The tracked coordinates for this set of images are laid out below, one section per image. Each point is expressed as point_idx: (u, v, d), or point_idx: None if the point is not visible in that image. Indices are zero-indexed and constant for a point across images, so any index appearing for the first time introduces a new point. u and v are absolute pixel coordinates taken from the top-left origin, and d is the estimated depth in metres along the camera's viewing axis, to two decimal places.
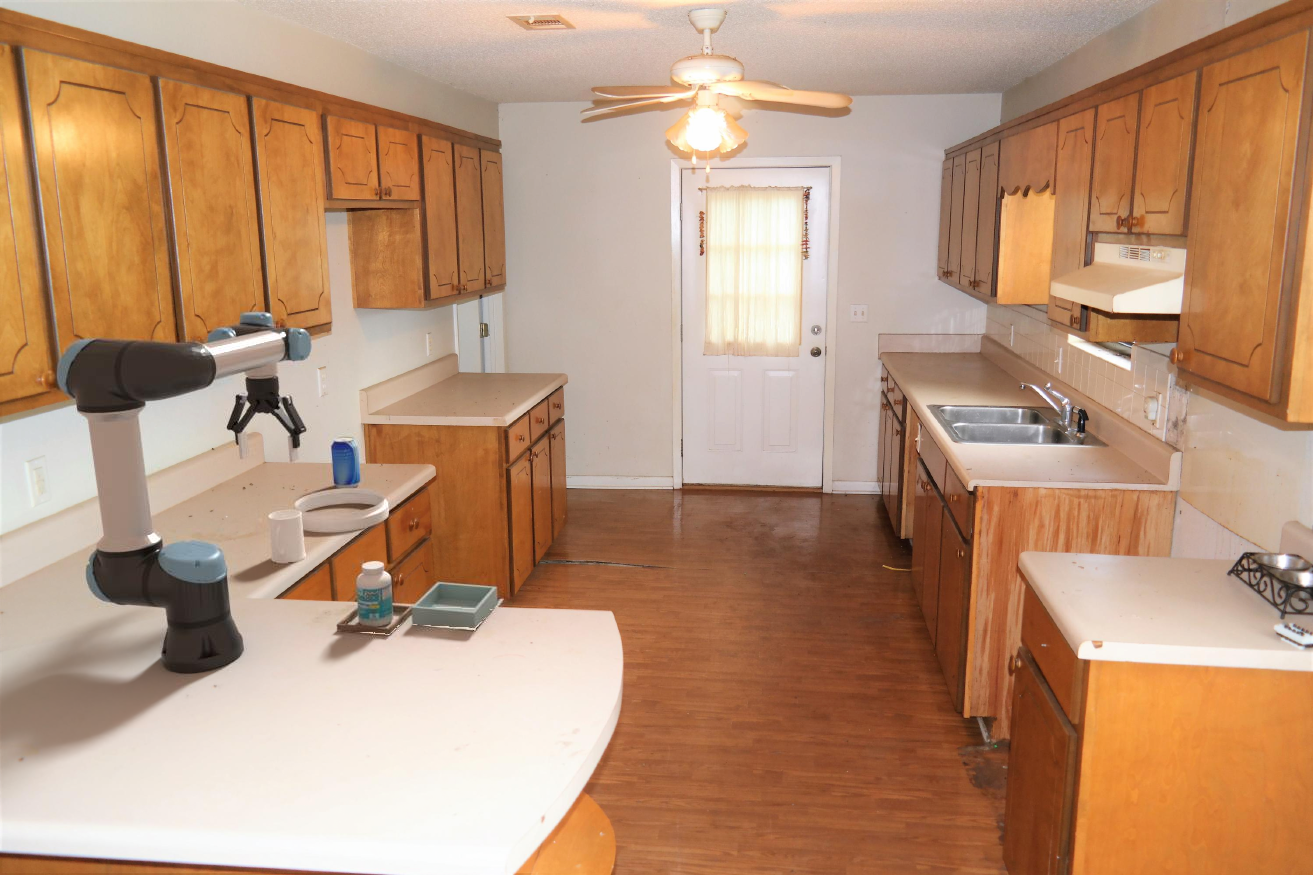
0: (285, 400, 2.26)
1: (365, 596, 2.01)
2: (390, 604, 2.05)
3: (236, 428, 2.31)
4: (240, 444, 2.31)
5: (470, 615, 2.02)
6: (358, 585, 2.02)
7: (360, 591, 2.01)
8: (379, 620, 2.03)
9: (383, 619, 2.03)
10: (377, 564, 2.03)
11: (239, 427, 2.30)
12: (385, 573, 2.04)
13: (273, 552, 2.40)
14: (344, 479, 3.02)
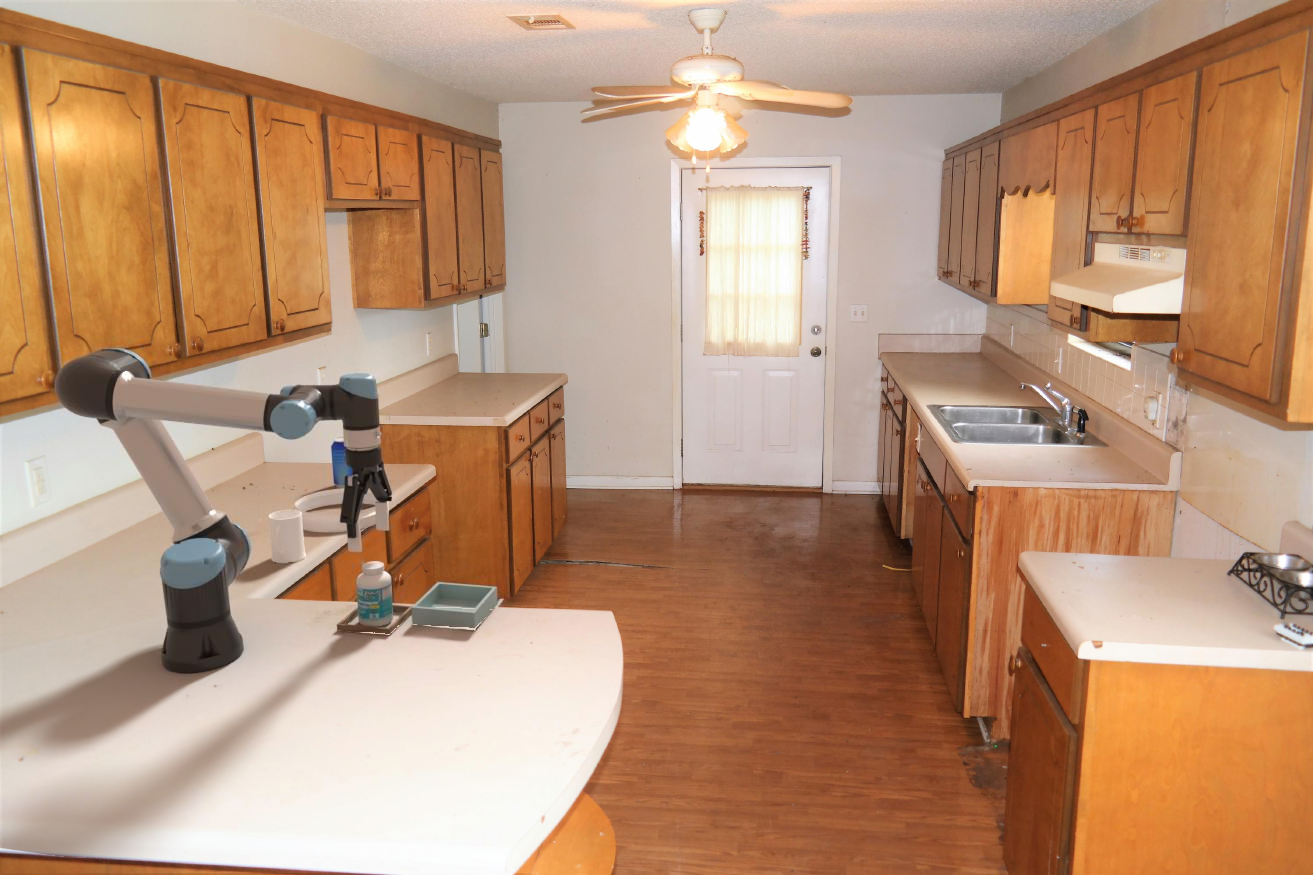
0: None
1: (365, 596, 2.01)
2: (390, 604, 2.05)
3: None
4: None
5: (470, 615, 2.02)
6: (358, 585, 2.02)
7: (360, 591, 2.01)
8: (379, 620, 2.03)
9: (383, 619, 2.03)
10: (377, 564, 2.03)
11: None
12: (385, 573, 2.04)
13: (273, 552, 2.40)
14: (344, 479, 3.02)
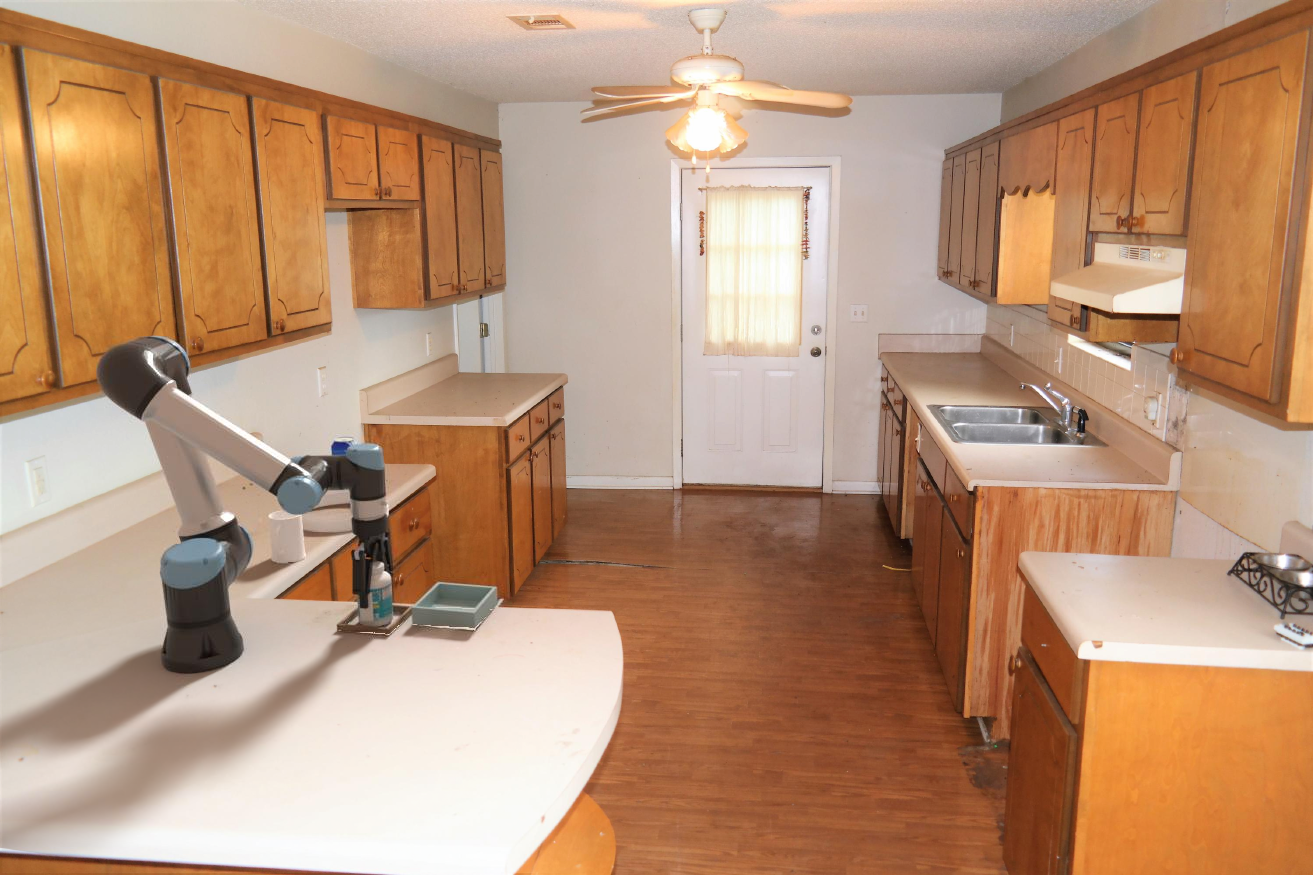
0: None
1: None
2: (390, 604, 2.05)
3: None
4: None
5: (470, 615, 2.02)
6: None
7: None
8: (379, 620, 2.03)
9: (383, 619, 2.03)
10: (377, 564, 2.03)
11: None
12: (385, 573, 2.04)
13: (273, 552, 2.40)
14: None
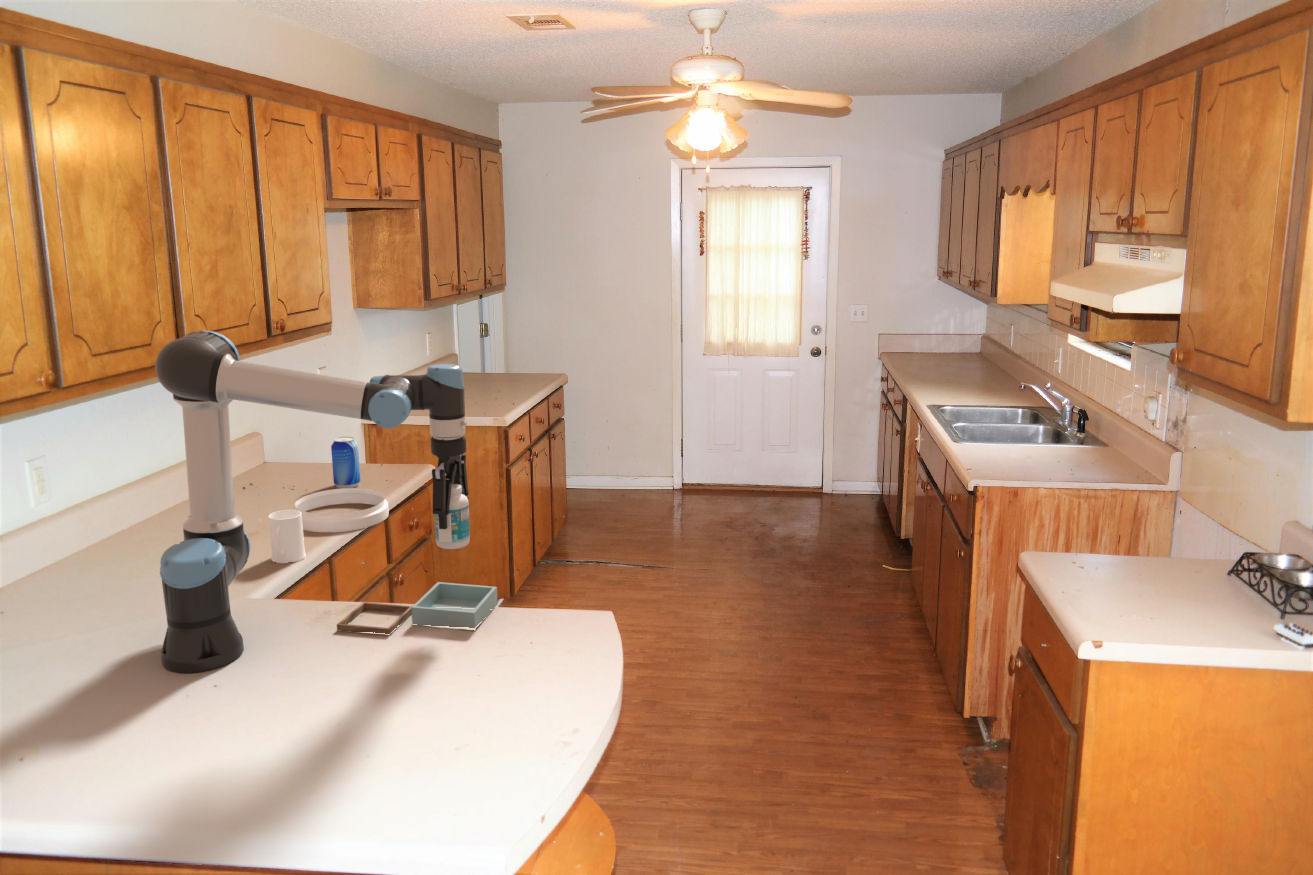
0: None
1: None
2: (467, 526, 2.05)
3: None
4: None
5: (470, 615, 2.02)
6: None
7: None
8: (457, 542, 2.03)
9: (461, 541, 2.03)
10: (455, 486, 2.03)
11: None
12: (463, 495, 2.04)
13: (273, 552, 2.40)
14: (344, 479, 3.02)
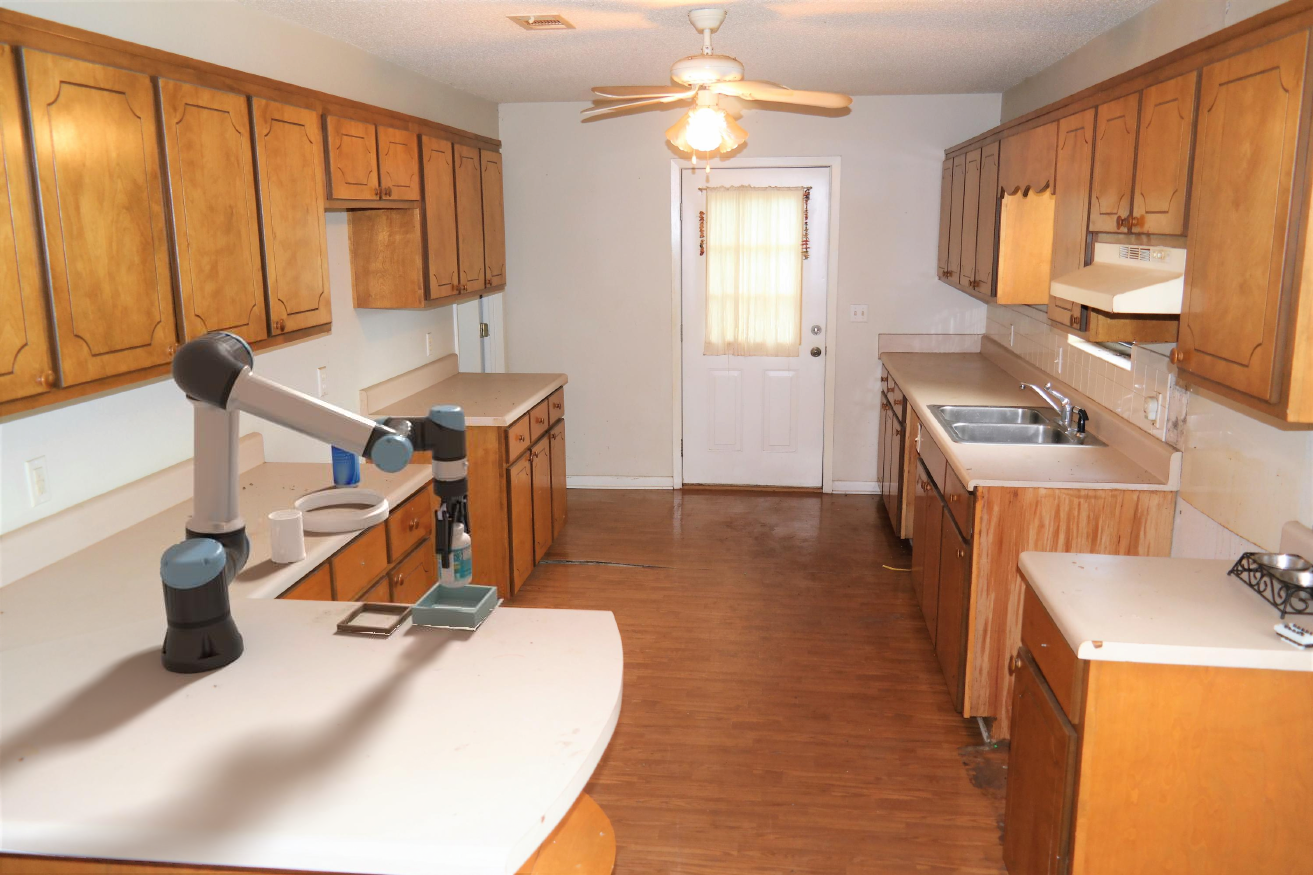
0: None
1: None
2: (470, 565, 2.07)
3: None
4: None
5: (470, 615, 2.02)
6: None
7: None
8: (460, 581, 2.05)
9: (463, 580, 2.06)
10: (457, 525, 2.06)
11: None
12: (465, 534, 2.07)
13: (273, 552, 2.40)
14: (344, 479, 3.02)
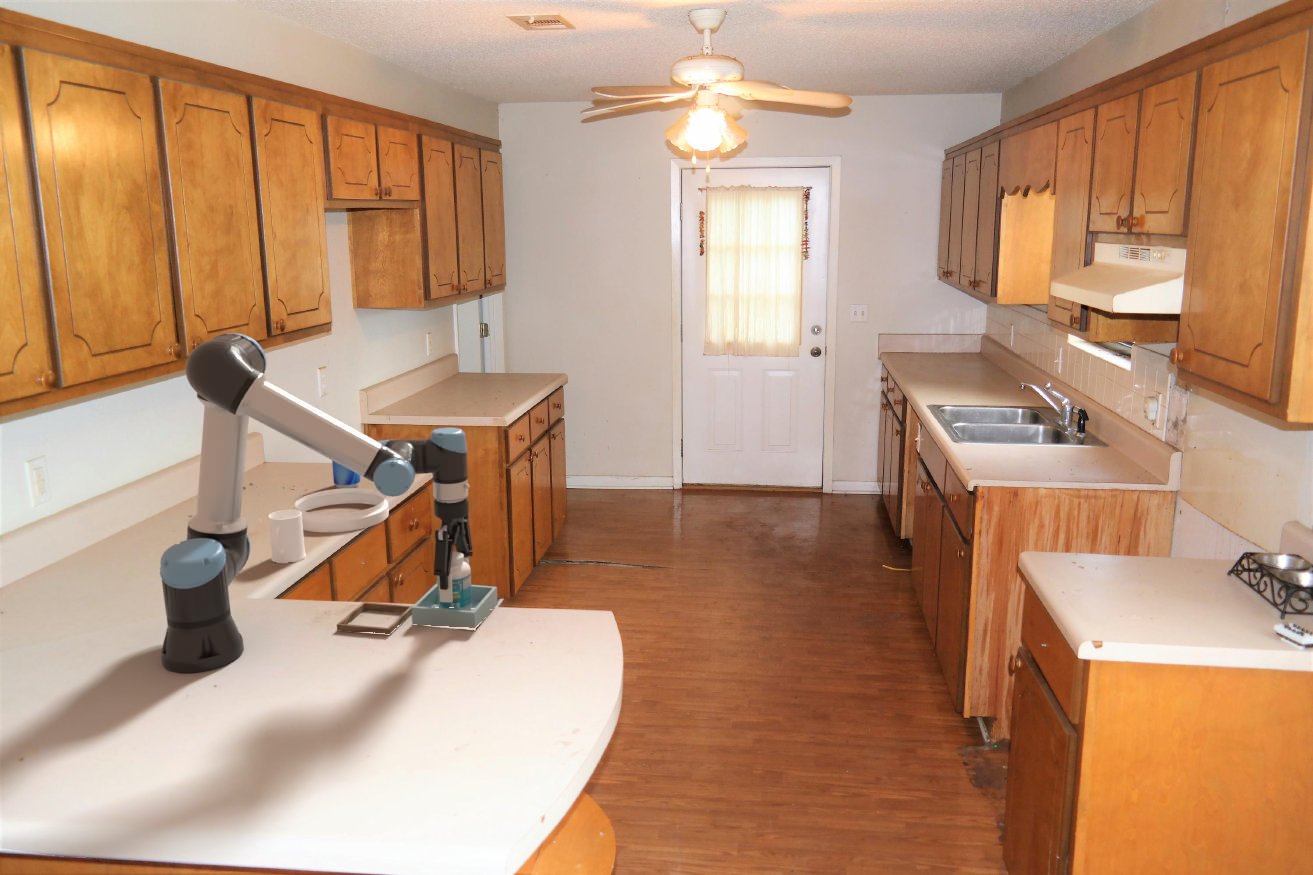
0: None
1: None
2: (470, 594, 2.09)
3: None
4: None
5: (470, 615, 2.02)
6: None
7: None
8: None
9: (463, 609, 2.07)
10: (457, 555, 2.07)
11: None
12: (465, 563, 2.08)
13: (273, 552, 2.40)
14: (344, 479, 3.02)
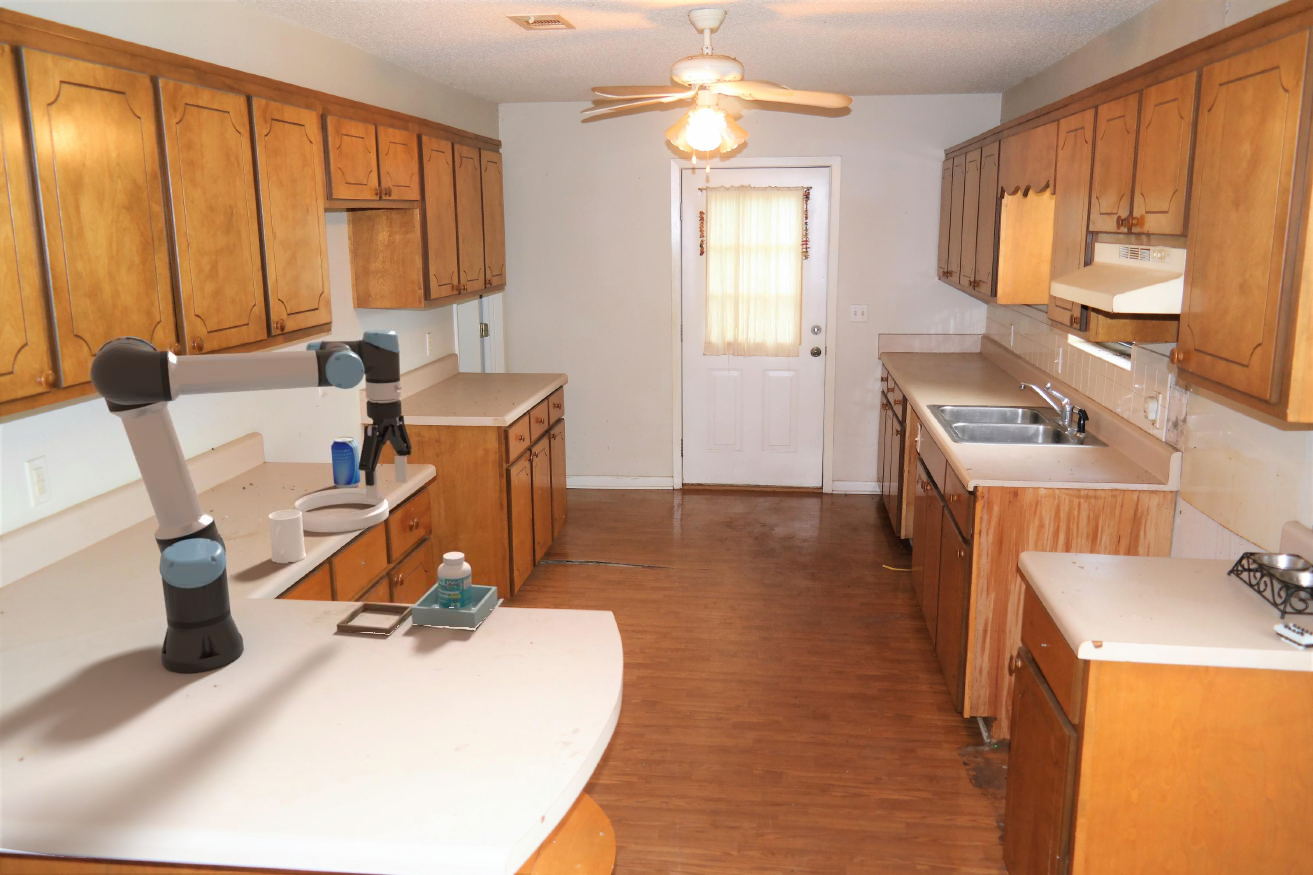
0: None
1: (446, 586, 2.05)
2: (470, 594, 2.09)
3: None
4: None
5: (470, 615, 2.02)
6: (440, 575, 2.05)
7: (442, 581, 2.05)
8: None
9: (463, 609, 2.07)
10: (458, 555, 2.07)
11: None
12: (465, 563, 2.08)
13: (273, 552, 2.40)
14: (344, 479, 3.02)
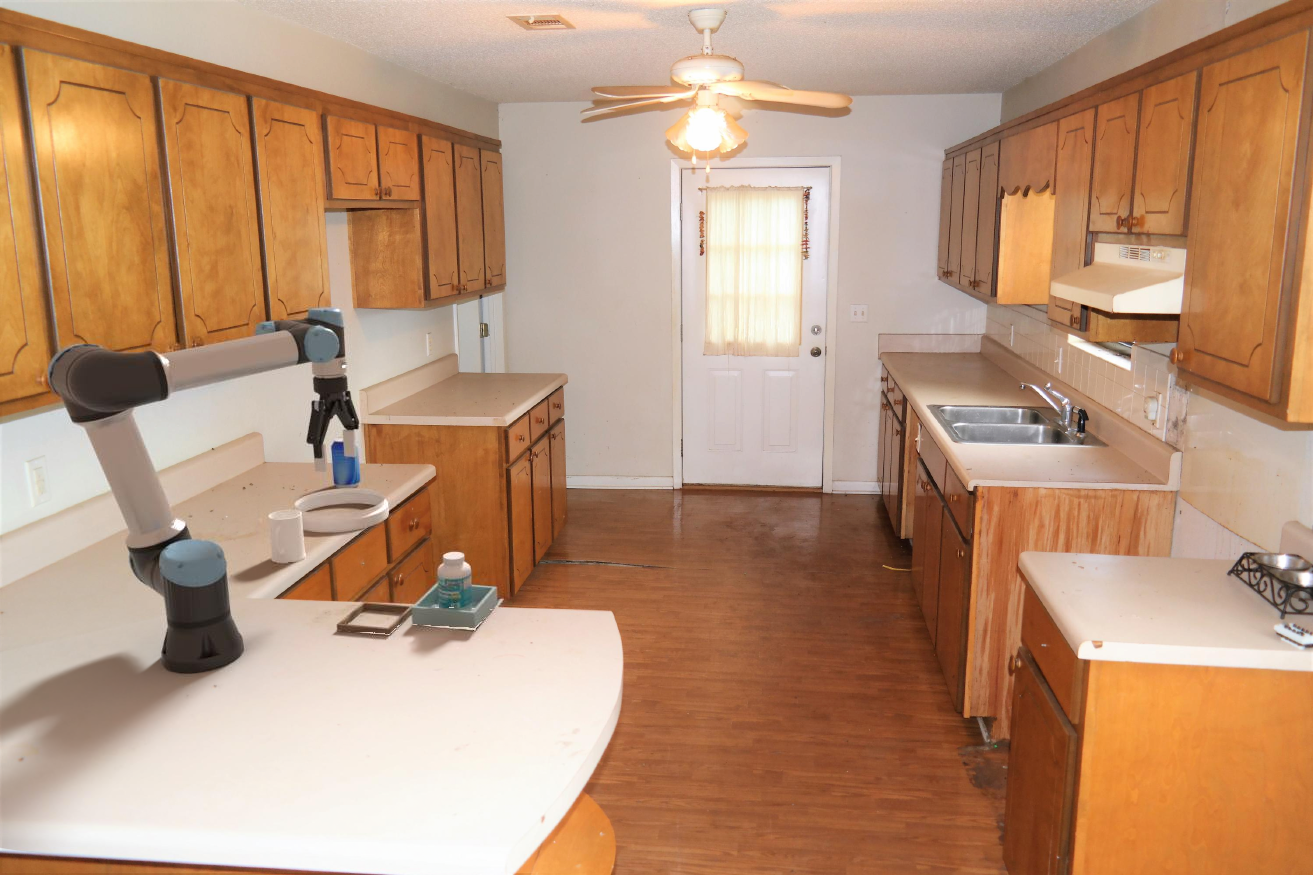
0: None
1: (446, 586, 2.05)
2: (470, 594, 2.09)
3: None
4: None
5: (470, 615, 2.02)
6: (440, 575, 2.05)
7: (442, 581, 2.05)
8: None
9: (463, 609, 2.07)
10: (457, 555, 2.07)
11: None
12: (465, 563, 2.08)
13: (273, 552, 2.40)
14: (344, 479, 3.02)
